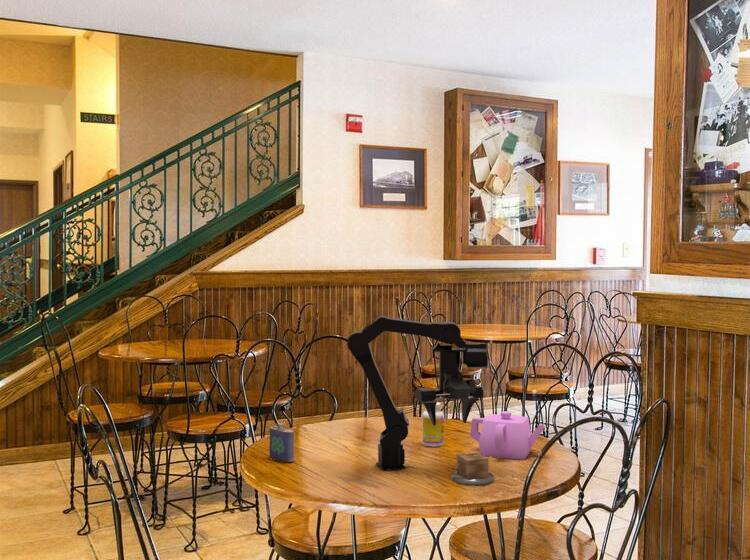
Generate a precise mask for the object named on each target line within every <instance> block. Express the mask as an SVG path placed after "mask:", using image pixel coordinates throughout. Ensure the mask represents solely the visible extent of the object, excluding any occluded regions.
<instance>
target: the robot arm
mask: <svg viewBox="0 0 750 560" xmlns="http://www.w3.org/2000/svg"><path fill="white" fill-rule="evenodd" d="M384 332H389V333H390V332H391V333H399V334H406V335H412V336H414V335H415V336H420V337H421V336H422V337H426V338H429V339H431V340H434V341H437V343H436V344H435V345H434V347H432V349H431V350H432V352H434V353H437V352H438V353H439V354H438V369H437V371H436V372H437V373H436V374H437V375H438V384H437V386H436V388H437V389H438V390H437V389H436V390H435V389H432V388H430V387H417V388H416V389H415V391H414V399H415V400H418V401H419V403H422V404H423V405H424V408H425V411H426V410H427V412H428V414H429V417H430V419H431V422H432V424H433V425H434V426H435V425H436V412H435V406H436V404H437V401H435V400H436V399H437V398H442V397H451V399H452V400H459V399H461V419H462V423H463V424H466V423H467V420H468V417H469V416H470V413H471V411H472V408H473V406H474V404H475V403H476V402H479V401H480V399H482V398H484V397H485V390H484V388H483V387H482V386H480V385H477V384H476V380H475V379H465V380H464V377H463V372H462V371H461V364H462V365H465V367H466V368H467V369H471V368H472V369H473V368H474V369H476V368H478V369H486V368H488V364H489V357H488V349H487V343H486V342H478V343H467V341H466V340H465V339H463V338H462V337H461V330H460V327H459V326H458V325H457V324H456V323H455V322H453V321H450V320H449V321H447V320H446V321H434V322H433V321H432V322H430V321H429V322H425V321H419V320H418V321H417V320H411V319H404V318H398V317H397V318H396V317H390V316H386V315H380V316H379V317H377V318H376V319H375V320H374V321H373V322H371V323H369V325H367V326H366V327H365V328H363V329H362V330H356V331H353V332H352V333H351V334H350V335H349V337H348V339H347V343H346V344H347V348H348V350H349V352H351V353H350V354H352V356H353V358H354V359H355V360H356V361H357V362H358V364H359V365H360V367H361V368H362V370H363V372H364V375H365V376H366V379H367V381H368V383H369V385H370V388H371V390H372V392H373V395H374V397H375V399H376V402H377V403H378V406H379V408H380V410H381V412H382V416H383V420H384V421H383V422H384V425H385V429H383V430H382V432H380V434H379V435H380V437H379V443H377V445H378V446H377V453H378V454H377V456H378V457H377V462H376V463H375V465H376V466H377V467H379V468H380V470H383V471H390V470H392V471H393V470H402V469H406V465H405V462H406V461H405V459H406V458H405V456H406V451H405V449H404V444H403V443H402V441H405V440H406V439H407V438H408V435H409V427H410V420H409V418H408V417H407V416H406V413H405V411H404V407H401V408H400V409H399V408H398V407H397V406H396V405H395V403H394V401H393V398H392V396H391V394H390V392H389V389H388V387H387V386H386V382H385V381H384V379H383V377H382V375H381V372H380V370H379V368H378V366H377V364H376V361H375V359H374V353H373V351H372V349H373V348H372V345H371V342H373V341H374V340H375V339H376V338H377V337H379V336H380V335H381V334H383V333H384ZM441 343H444V344H441ZM452 345H455V346H456V347H457V348H453V346H452Z"/></svg>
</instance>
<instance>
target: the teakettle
mask: <svg viewBox="0 0 750 560" xmlns="http://www.w3.org/2000/svg"><path fill="white" fill-rule="evenodd" d="M499 413H500V414H499ZM499 413H497V414H496V413H495V414H493V413H491V414H489V415H487V416H486V417H473V418H472V419H471V424H470V425H471V426H470V435H469V437H470V438H471V439H474V440H475V441H476V442H478V446H479V447H478V448H479V452H480V453H479V454H481V455H484V456H485V457H488V456H492V457H491V458H496V457H499V458H498V459H505V458H509V459H508V460H519V459H523V460H526V459H527V457H528V456H529V455H530V453H531V449H532V447H533V445H534V444H535V443H536V442H537V439H538V438H539V437H540V436H541V434H542V432H543V431H544V430H545V428H546V425H545V424H542V423H539V424H538V426H537V427H536V428H535V430H534V431H533V432H532V431H531V424H530V419H529V417H528V416H522V415H512V412H511V411H508V410H507V411H506V410H505V411H504V410H502V411H500V412H499ZM480 424H481V429H480V432H479V425H480Z"/></svg>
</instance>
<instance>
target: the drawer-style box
mask: <svg viewBox="0 0 750 560" xmlns="http://www.w3.org/2000/svg"><path fill="white" fill-rule="evenodd" d="M456 471H457V474H459V475H460V476H462V477H463V478H465V479H467V480H472V479H481V478H488V472H489V458H488V456H483V455H481V453H479V452H472V453H471V452H469V453H461V454H456Z"/></svg>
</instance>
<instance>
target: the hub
mask: <svg viewBox="0 0 750 560" xmlns="http://www.w3.org/2000/svg"><path fill="white" fill-rule="evenodd" d="M450 477H451V481H452V482H453V481H454V483H455V482H456V483H455V484H458V483H459V485H462V484H465V485H464V486H468V485H475V486H474V487H479V486H478V485H483V486H487V484H488V485H491V484H493V483H492V482H493V481H494V482H495V476H494V474H493V473H491V472H489V471H488V478H481V479H472V480H467V479H465V478H463V477H462V476H460V475H459V474H457V470H456V471H453V472H452V473H451V475H450ZM490 483H491V484H490Z"/></svg>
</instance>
